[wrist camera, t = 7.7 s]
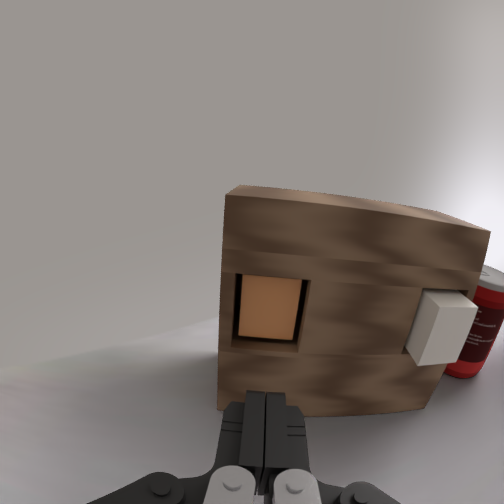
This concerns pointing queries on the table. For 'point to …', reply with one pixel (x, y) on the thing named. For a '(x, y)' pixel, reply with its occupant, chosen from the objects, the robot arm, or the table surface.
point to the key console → (338, 297)
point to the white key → (440, 326)
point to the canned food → (481, 324)
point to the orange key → (269, 306)
